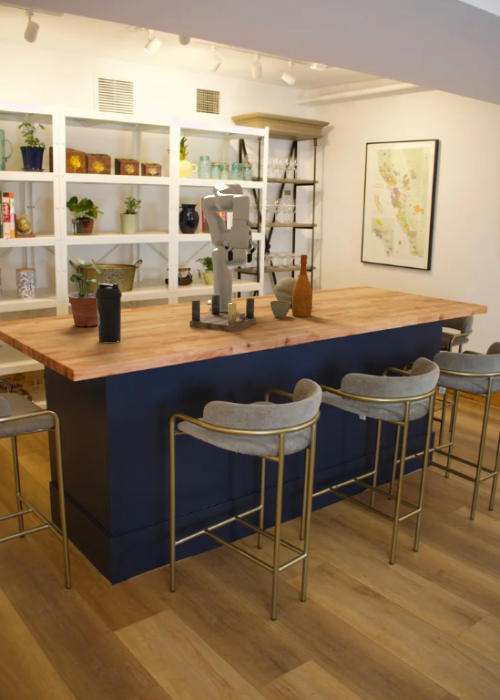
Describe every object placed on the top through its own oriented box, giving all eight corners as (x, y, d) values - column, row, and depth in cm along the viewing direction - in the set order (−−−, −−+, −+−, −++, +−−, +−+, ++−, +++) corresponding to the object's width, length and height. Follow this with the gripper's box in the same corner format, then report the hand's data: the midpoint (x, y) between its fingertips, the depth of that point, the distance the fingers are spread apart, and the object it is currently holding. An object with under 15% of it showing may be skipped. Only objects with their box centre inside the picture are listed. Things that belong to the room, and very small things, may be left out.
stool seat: (189, 326, 291) (189, 300, 288) (214, 318, 310) (214, 294, 308) (233, 331, 282) (233, 305, 279) (255, 323, 301) (256, 298, 298)
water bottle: (98, 337, 265) (96, 281, 260) (124, 337, 266) (122, 281, 260) (95, 343, 255) (92, 285, 250) (121, 343, 256) (119, 285, 251)
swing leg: (239, 319, 294) (240, 299, 292) (246, 320, 293) (247, 300, 291) (226, 324, 283) (226, 303, 280) (233, 325, 281) (234, 304, 279)
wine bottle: (313, 314, 324) (316, 254, 317) (308, 318, 315) (311, 255, 308) (294, 313, 327) (296, 253, 320) (289, 316, 318) (291, 254, 311)
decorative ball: (268, 304, 351) (268, 276, 348) (287, 301, 361) (288, 274, 358) (288, 308, 341) (289, 279, 337) (307, 305, 350) (308, 277, 347)
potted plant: (77, 330, 278) (74, 247, 270) (64, 324, 290) (60, 244, 282) (111, 326, 287) (109, 246, 279) (97, 320, 299) (95, 243, 291)
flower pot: (288, 319, 312) (289, 304, 310) (268, 318, 314) (268, 303, 312) (291, 315, 322) (292, 301, 320) (271, 314, 324) (272, 300, 322)
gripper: (261, 224, 294) (260, 262, 298) (227, 222, 301) (227, 259, 306) (254, 225, 287) (253, 264, 292) (219, 222, 295) (219, 260, 299)
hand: (239, 261), depth 299 cm, fingers open, 9 cm apart
